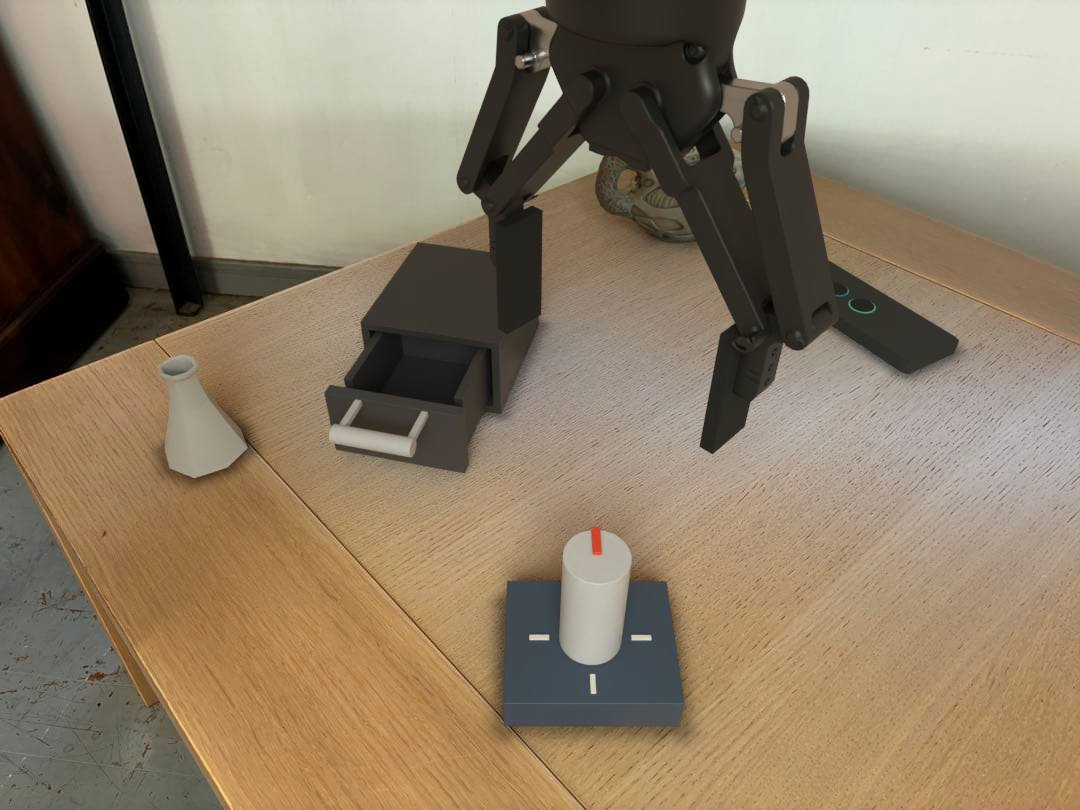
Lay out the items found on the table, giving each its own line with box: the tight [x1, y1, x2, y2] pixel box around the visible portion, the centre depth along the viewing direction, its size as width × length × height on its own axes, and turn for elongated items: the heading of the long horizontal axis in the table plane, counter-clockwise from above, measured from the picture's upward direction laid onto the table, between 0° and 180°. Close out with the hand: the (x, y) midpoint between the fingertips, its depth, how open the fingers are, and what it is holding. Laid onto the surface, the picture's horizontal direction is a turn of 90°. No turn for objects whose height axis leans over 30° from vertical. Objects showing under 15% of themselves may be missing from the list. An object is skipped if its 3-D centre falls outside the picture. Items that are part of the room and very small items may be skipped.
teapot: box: [594, 147, 746, 243], centre depth 104 cm, size 21×12×15 cm, turn 108°
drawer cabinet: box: [359, 241, 540, 415], centre depth 85 cm, size 16×14×9 cm
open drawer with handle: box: [324, 331, 493, 474], centre depth 76 cm, size 20×12×7 cm, turn 166°
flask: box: [157, 353, 249, 479], centre depth 74 cm, size 7×7×10 cm
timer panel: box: [502, 580, 685, 727], centre depth 59 cm, size 12×10×3 cm
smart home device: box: [828, 259, 960, 375], centre depth 94 cm, size 8×2×20 cm
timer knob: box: [559, 526, 633, 665], centre depth 55 cm, size 4×4×9 cm
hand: (612, 375), depth 43 cm, fingers open, 13 cm apart
